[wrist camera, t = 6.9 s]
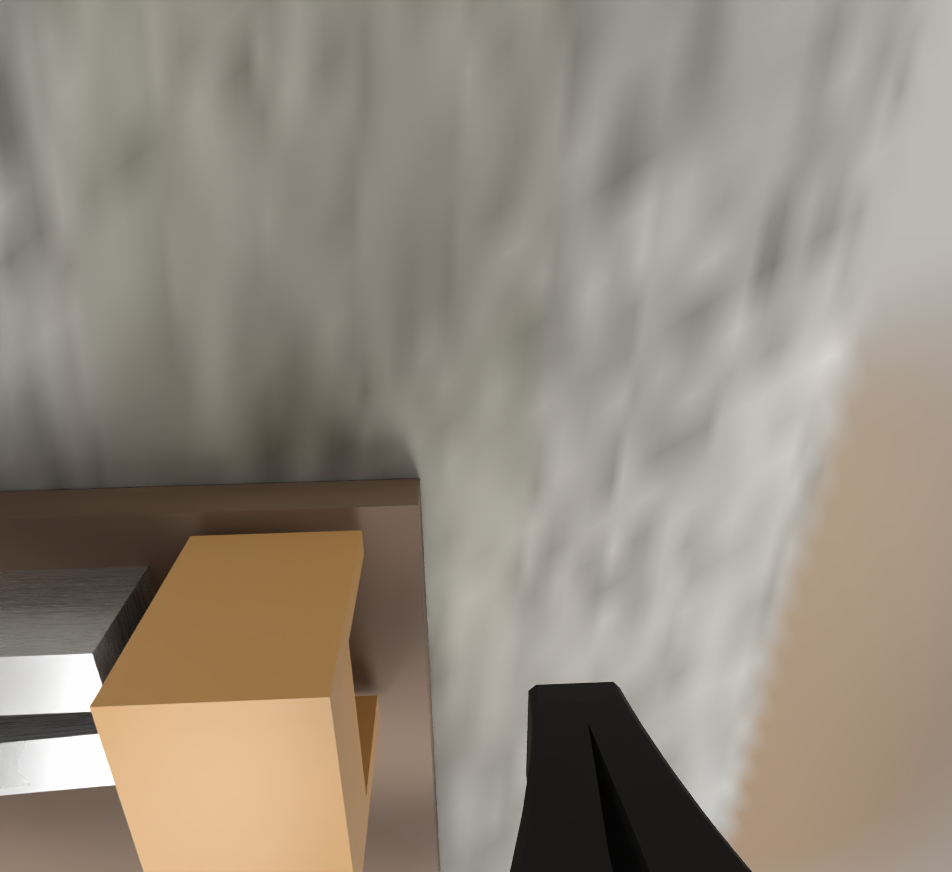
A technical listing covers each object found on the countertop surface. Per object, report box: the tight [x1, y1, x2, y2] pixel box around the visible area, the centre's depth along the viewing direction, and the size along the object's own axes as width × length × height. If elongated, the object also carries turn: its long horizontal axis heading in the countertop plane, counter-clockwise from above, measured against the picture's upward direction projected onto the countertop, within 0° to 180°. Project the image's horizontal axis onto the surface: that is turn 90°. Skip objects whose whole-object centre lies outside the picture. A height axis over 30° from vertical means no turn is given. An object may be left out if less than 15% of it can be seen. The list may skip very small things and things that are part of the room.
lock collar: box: [90, 530, 379, 872], centre depth 12 cm, size 4×3×4 cm
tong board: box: [0, 479, 440, 872], centre depth 15 cm, size 15×16×3 cm
